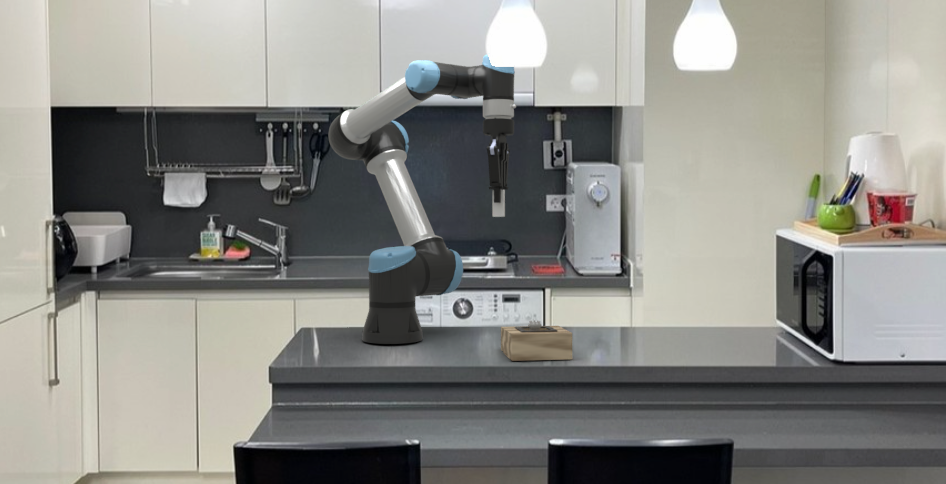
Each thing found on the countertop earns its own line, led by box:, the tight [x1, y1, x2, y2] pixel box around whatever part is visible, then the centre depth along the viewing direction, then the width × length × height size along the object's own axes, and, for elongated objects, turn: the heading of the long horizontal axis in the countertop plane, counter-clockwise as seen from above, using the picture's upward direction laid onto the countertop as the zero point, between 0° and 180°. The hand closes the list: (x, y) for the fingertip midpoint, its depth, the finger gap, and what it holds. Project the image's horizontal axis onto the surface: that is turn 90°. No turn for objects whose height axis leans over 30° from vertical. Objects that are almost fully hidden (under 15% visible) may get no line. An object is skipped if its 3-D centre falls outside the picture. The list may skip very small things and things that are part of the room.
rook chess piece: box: [527, 319, 543, 330], centre depth 225 cm, size 4×4×8 cm
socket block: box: [500, 325, 573, 362], centre depth 225 cm, size 14×14×6 cm
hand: (498, 216), depth 233 cm, fingers closed
